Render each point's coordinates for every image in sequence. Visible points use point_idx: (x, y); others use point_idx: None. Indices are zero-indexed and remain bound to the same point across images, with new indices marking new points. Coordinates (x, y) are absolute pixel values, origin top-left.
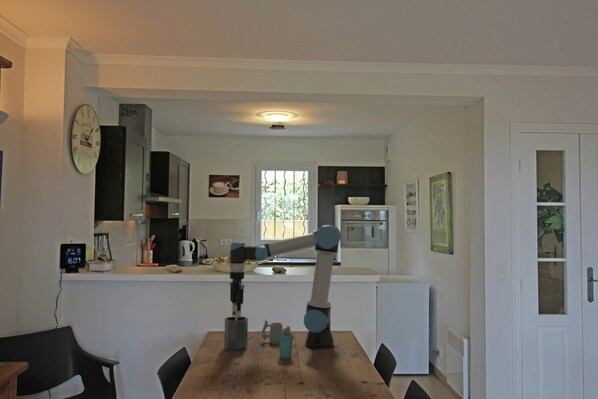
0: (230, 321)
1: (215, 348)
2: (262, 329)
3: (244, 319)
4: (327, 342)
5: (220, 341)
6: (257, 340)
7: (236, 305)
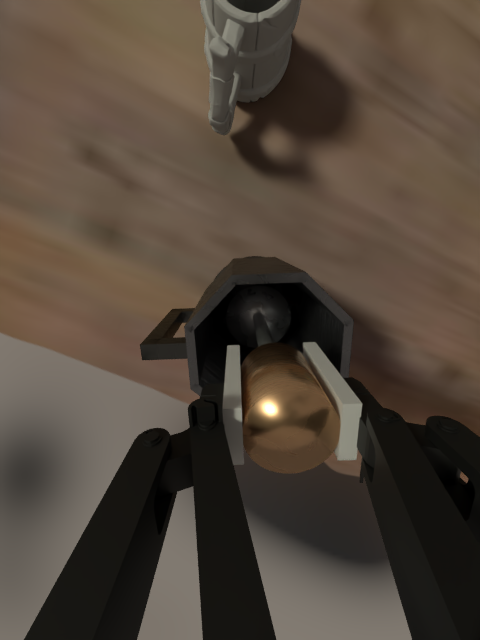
0: None
1: None
2: (215, 115)
3: (334, 313)
4: None
5: (126, 327)
6: (172, 152)
7: (353, 450)
